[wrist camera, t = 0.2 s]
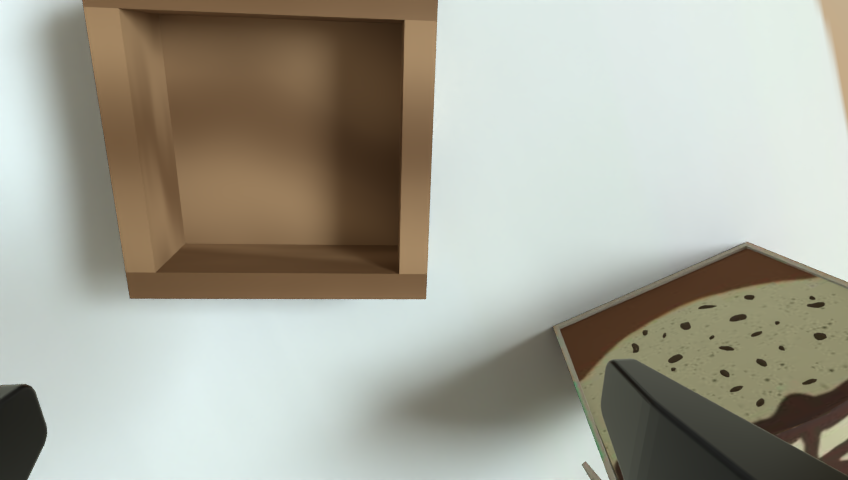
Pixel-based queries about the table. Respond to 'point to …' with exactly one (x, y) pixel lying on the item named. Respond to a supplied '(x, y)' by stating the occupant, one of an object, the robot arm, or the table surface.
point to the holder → (268, 144)
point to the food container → (729, 347)
